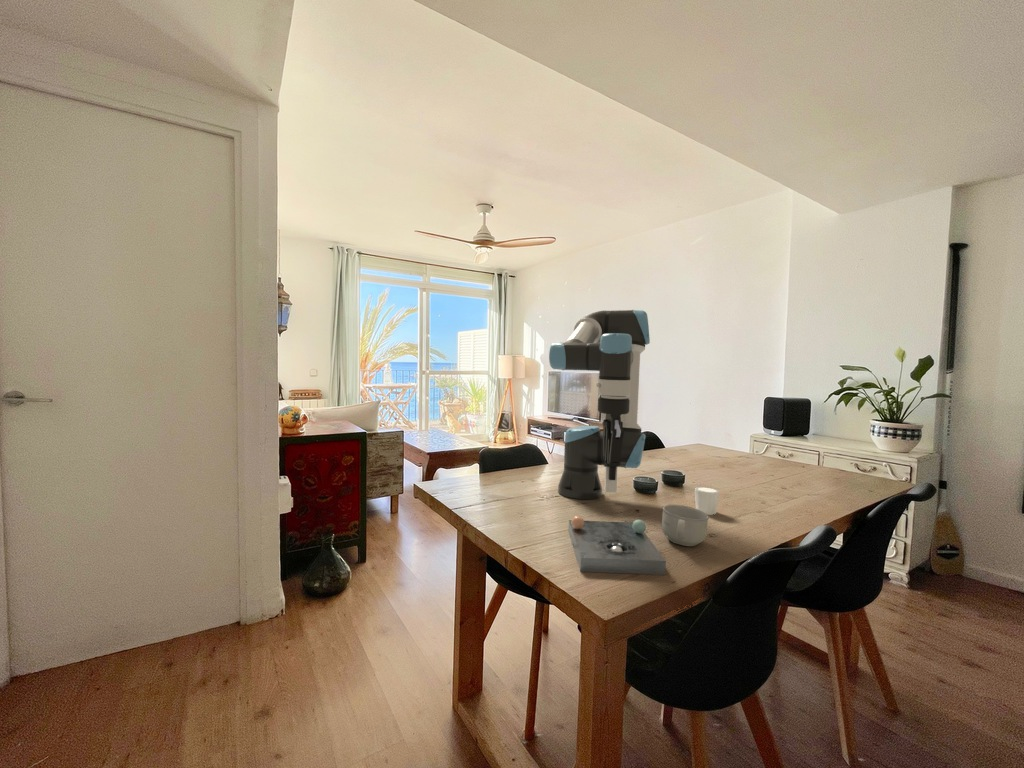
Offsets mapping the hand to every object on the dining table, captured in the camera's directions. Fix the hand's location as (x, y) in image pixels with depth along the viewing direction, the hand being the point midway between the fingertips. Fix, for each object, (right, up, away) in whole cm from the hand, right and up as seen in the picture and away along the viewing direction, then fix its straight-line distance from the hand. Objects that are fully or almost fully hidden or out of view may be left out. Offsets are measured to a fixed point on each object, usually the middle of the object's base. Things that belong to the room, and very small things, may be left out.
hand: (610, 491), depth 104 cm
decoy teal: (+7, -9, 0) cm, 11 cm away
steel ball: (-1, -12, -9) cm, 15 cm away
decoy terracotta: (-8, -8, +1) cm, 11 cm away
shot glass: (+36, -13, +26) cm, 46 cm away
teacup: (+18, -14, +2) cm, 23 cm away
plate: (-1, -13, -4) cm, 14 cm away
